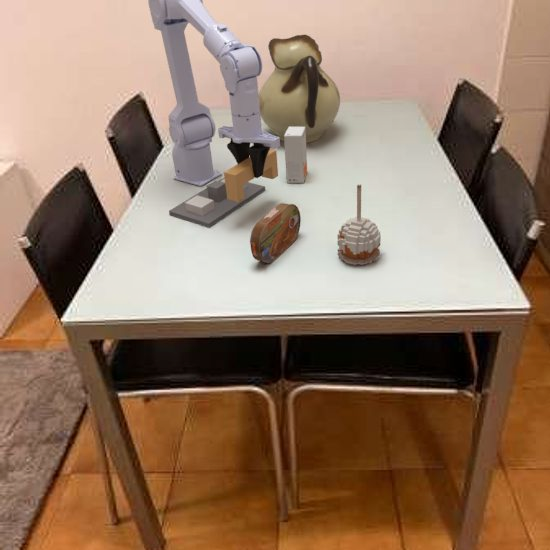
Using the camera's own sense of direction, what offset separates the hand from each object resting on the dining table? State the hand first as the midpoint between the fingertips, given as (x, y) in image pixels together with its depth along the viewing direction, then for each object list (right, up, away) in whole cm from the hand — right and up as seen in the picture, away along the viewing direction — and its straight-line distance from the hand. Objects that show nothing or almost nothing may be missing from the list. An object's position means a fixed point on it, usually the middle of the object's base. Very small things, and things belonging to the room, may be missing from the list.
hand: (252, 174), depth 126 cm
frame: (0, -2, +2) cm, 3 cm away
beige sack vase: (+13, +17, +41) cm, 46 cm away
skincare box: (+10, +2, +19) cm, 21 cm away
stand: (-8, -5, +11) cm, 14 cm away
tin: (+5, -17, -8) cm, 19 cm away
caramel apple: (+21, -18, -12) cm, 30 cm away
